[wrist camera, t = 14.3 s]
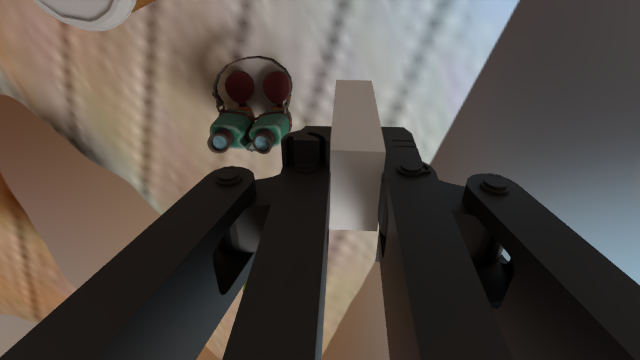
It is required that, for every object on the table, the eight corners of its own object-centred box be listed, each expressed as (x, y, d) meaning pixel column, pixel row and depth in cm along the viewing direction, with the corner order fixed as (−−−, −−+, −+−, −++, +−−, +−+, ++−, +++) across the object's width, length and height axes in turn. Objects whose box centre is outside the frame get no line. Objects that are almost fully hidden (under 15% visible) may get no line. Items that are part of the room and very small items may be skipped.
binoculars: (278, 64, 31) (284, 167, 35) (294, 52, 40) (298, 134, 45) (180, 65, 32) (198, 166, 36) (219, 52, 41) (230, 134, 45)
